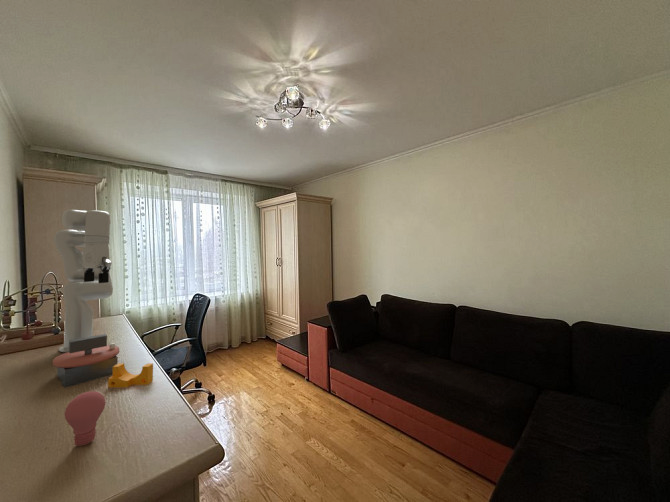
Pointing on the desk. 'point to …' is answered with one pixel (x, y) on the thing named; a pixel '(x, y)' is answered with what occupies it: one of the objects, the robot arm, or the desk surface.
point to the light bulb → (84, 415)
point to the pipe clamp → (130, 376)
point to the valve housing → (86, 372)
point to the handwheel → (86, 352)
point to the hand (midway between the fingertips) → (96, 282)
